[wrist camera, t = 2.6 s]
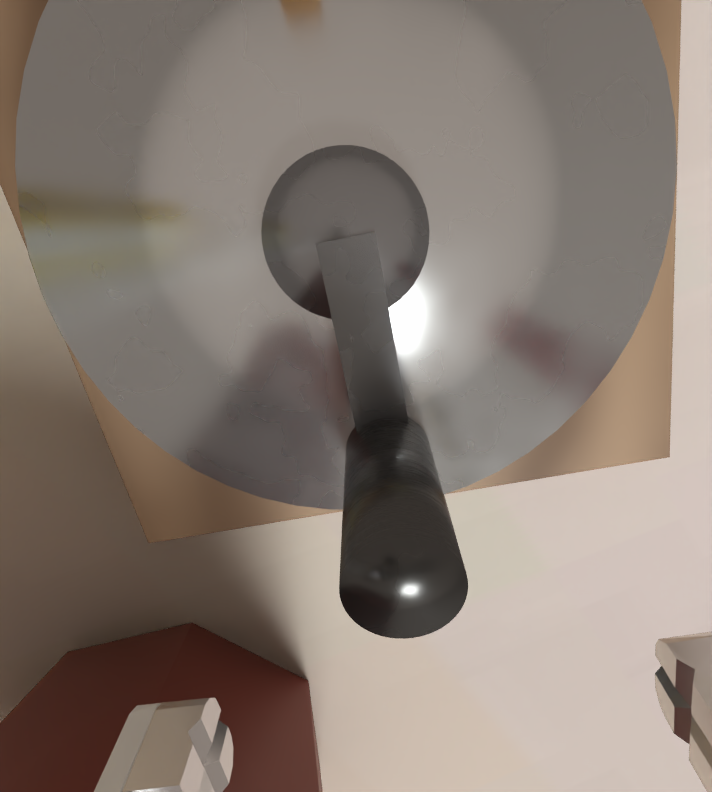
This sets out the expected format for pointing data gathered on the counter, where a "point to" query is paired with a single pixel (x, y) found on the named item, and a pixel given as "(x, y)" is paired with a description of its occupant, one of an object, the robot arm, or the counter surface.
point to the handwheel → (349, 243)
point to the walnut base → (557, 455)
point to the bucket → (155, 683)
